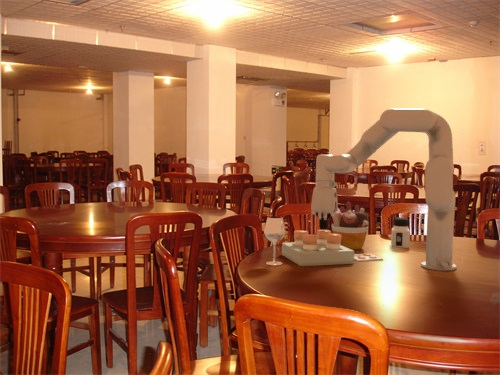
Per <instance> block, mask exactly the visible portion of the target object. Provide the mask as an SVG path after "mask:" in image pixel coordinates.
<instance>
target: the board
mask: <svg viewBox="0 0 500 375" xmlns="http://www.w3.org/2000/svg"><path fill="white" fill-rule="evenodd" d="M354 254H355V250H351V249H349V248H346V247H344V246H342V245H340V250H328V249H327V245H324V246H319V245H317V251H304V250H303V246H297V247H296V246H294V242H293V241H291V242H282V243H281V255H282V256H284V257H285V258H287V259H288V260H290V261H291V262H293V263H295V264H297V265H298V266H299V267H307V266H308V267H309V266H311V267H312V266H313V267H314V266H331V265H332V266H333V265H352V264H355V260H354Z"/></svg>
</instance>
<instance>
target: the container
mask: <svg viewBox="0 0 500 375" xmlns="http://www.w3.org/2000/svg"><path fill="white" fill-rule="evenodd" d="M390 236H391V238H390V239H391V240H390V241H391V242H390V245H391V247H392V248H401V249H402V248H403V249H404V248H406V249H409V248H410V245H411V239H410V238H411V231H410V229H409V219H408V218H405V217H394V219H393V227H391V235H390Z"/></svg>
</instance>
